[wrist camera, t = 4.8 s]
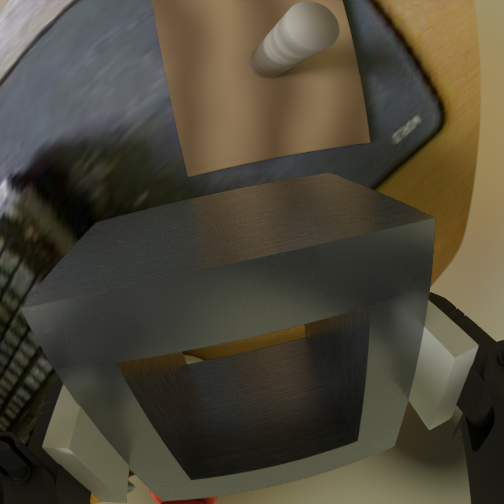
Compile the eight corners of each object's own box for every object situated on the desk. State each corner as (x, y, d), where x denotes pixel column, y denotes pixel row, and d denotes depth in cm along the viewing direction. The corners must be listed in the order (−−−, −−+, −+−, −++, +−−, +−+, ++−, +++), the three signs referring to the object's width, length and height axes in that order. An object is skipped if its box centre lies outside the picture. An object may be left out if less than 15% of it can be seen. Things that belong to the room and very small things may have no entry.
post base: (188, 174, 23) (184, 207, 13) (153, 3, 17) (132, -68, 8) (361, 141, 24) (449, 156, 14) (329, -14, 18) (397, -67, 9)
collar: (164, 393, 13) (162, 501, 8) (96, 222, 10) (20, 308, 5) (339, 353, 14) (394, 446, 9) (329, 172, 10) (435, 217, 5)
